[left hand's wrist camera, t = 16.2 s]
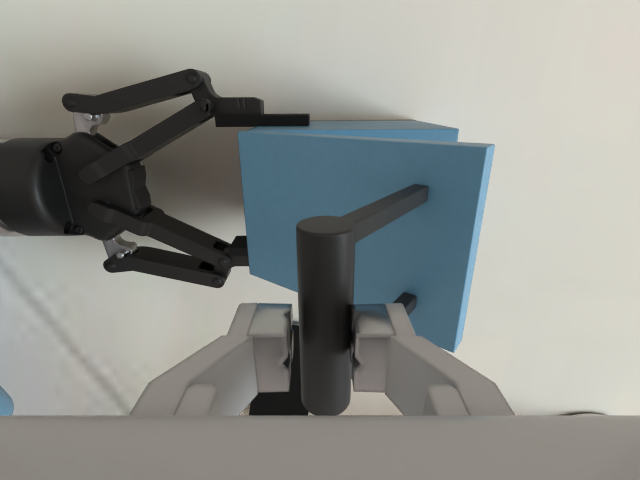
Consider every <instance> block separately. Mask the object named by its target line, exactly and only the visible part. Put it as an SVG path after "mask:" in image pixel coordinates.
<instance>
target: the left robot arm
mask: <svg viewBox="0 0 640 480" xmlns="http://www.w3.org/2000/svg"><path fill="white" fill-rule="evenodd" d="M292 319H293V313H292V304H267V303H259V304H257V303H241V304H240V305H239V306H238V309H237V311H236V314H235V316H234V319H233V321H232V324H231V326H230V329H229V331H228V334H227V336H221V337H219V338H218V339H216V340H214V341H213V342H211V343H210V344H208V345H207V346H205V347H204V348H202V349H200V350H199V351H197V352H196V353H194V354H193V355H191V356H190V357H188V358H186V359H185V360H183V361H182V362H180V363H179V364H177V365H176V366H174V367H172V368H171V369H169V370H168V371H166V372H165V373H163V374H162V375H160V376H159V377H157V378H155V379H154V380H152V381H151V382H149V383H148V385H147V386H146V388H145V390H144V391H143V393H142V395H141V396H140V398H139V399H138V401H137V403H136V404H135V406H134V408H133V409H132V411H131V412H130V414H129V416H0V480H640V416H606V415H602V414H593V413H586V414H576V415H571V416H515V414H514V413H513V411H512V409H511V408H510V406H509V405H508V403H507V401H506V400H505V398H504V397H503V395H502V393H501V392H500V390H499V388H498V387H497V385H496V384H495V383H494V382H492V381H491V380H489V379H488V378H486V377H485V376H483V375H482V374H480V373H478V372H477V371H475V370H474V369H472V368H471V367H469V366H467V365H466V364H464V363H463V362H461V361H460V360H458V359H457V358H455V357H453V356H452V355H450V354H449V353H447V352H446V351H444V350H443V349H441V348H439V347H438V346H436V345H435V344H433V343H432V342H430V341H428V340H427V339H425V338H424V337H422V336H416V334H415V332H414V329H413V327H412V325H411V322H410V320H409V318H408V315H407V313H406V310H405V308H404V306H403V304H402V303H387V304H351V307H350V324H351V331H350V334H349V355H350V363H352V381H353V389H354V392H385V394H386V396H387V397H388V398H389V399H390V400H391V401H392V402H393V403H394V405H395V406H396V407H397V408H398V409H399V410H400V411H401V412H402V414H403V415H404V416H239V415H240V414H241V412H242V411H243V410H244V409H245V408H246V407H247V406H248V405H249V403H250V402H251V401H252V400H253V399H254V398H255V397H256V395H257V394H258V393H257V392H289V386H290V378H291V363H292V359H293V329H292Z"/></svg>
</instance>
